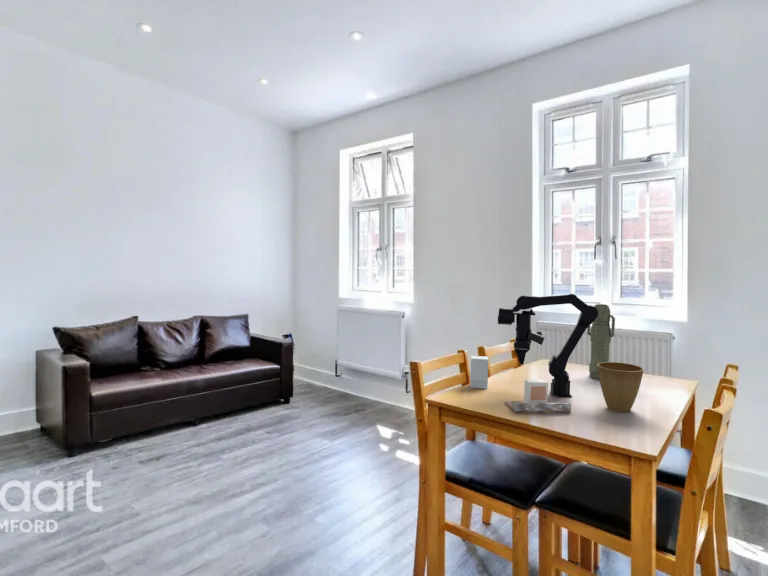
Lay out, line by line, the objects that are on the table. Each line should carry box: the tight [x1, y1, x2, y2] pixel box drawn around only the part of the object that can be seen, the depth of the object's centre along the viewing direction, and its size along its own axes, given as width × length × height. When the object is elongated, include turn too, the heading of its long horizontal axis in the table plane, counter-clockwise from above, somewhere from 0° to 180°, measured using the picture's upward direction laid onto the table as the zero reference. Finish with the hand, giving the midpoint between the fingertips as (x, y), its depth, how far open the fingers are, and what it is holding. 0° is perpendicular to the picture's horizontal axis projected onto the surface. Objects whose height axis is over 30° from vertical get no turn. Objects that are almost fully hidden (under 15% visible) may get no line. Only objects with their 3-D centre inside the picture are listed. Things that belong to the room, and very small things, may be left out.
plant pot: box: [598, 361, 644, 413], centre depth 163 cm, size 15×15×16 cm
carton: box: [523, 378, 549, 403], centre depth 165 cm, size 4×7×9 cm, turn 93°
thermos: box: [586, 303, 616, 380], centre depth 213 cm, size 9×12×35 cm
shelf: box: [504, 400, 572, 414], centre depth 164 cm, size 20×12×3 cm, turn 93°
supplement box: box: [469, 355, 489, 390], centre depth 194 cm, size 7×7×13 cm
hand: (522, 362), depth 187 cm, fingers open, 9 cm apart
